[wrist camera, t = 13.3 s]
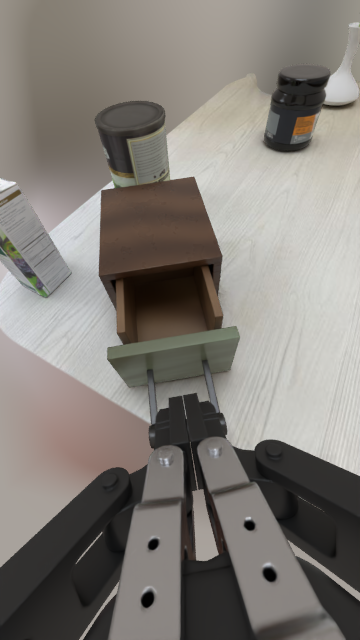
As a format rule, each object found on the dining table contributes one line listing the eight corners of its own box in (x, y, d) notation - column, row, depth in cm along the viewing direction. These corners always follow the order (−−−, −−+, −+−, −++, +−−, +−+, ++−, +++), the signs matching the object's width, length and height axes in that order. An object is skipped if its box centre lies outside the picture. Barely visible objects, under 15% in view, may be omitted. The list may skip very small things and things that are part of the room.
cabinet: (216, 310, 34) (222, 256, 25) (123, 325, 33) (98, 275, 25) (195, 235, 42) (194, 176, 34) (120, 246, 42) (101, 190, 34)
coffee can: (116, 221, 46) (86, 131, 34) (124, 189, 51) (102, 102, 39) (171, 219, 45) (162, 126, 33) (174, 187, 50) (166, 98, 38)
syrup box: (20, 285, 38) (-62, 196, 26) (48, 261, 41) (-15, 169, 29) (46, 299, 37) (-30, 210, 24) (73, 272, 39) (17, 180, 27)
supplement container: (319, 147, 55) (347, 73, 45) (277, 157, 54) (295, 84, 44) (293, 128, 61) (313, 59, 51) (254, 137, 60) (266, 68, 50)
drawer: (248, 436, 24) (267, 420, 18) (131, 457, 24) (106, 449, 17) (203, 275, 36) (205, 230, 29) (124, 288, 36) (107, 245, 29)
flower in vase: (349, 113, 64) (424, -67, 43) (304, 106, 68) (353, -62, 46) (361, 95, 69) (433, -72, 48) (319, 90, 73) (369, -67, 52)
